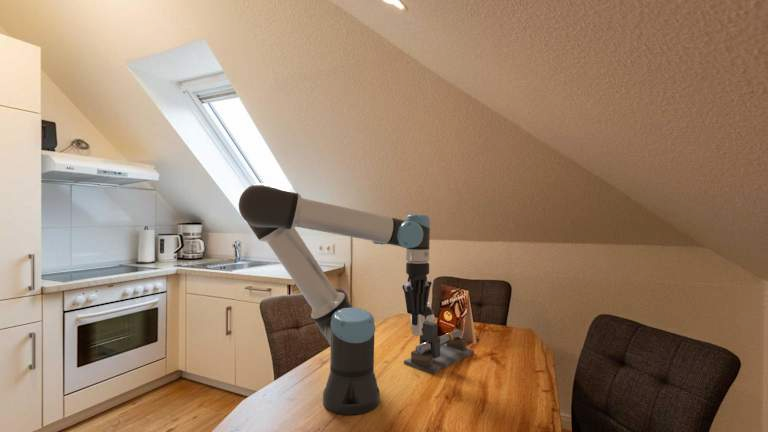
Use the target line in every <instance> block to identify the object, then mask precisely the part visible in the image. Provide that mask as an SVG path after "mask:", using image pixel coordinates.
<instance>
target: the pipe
mask: <svg viewBox="0 0 768 432" xmlns="http://www.w3.org/2000/svg"><path fill="white" fill-rule="evenodd" d="M439 337H440V346H442V345H444V344H447V343H450V342H452V341H454V340H456V339H458V338H462V337H463V332H462V330H460V329H456V330H453V331H451V332H447V333H445V334H443V335H440V336H439ZM415 350H416V352H417V354H419V355H421V354H424V353H426V352H428V351H431V350H432V342H430V341H428V342H425V343H423V344H420V343H419V344H417V345H416V346H415Z"/></svg>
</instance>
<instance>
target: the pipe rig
mask: <svg viewBox="0 0 768 432" xmlns="http://www.w3.org/2000/svg"><path fill="white" fill-rule="evenodd" d="M467 342H468V341H467V339H464V338H462V337H460V338H458V339H456V340H454V341H452V342H450V343H447V344H444V345H442V346H440V357H438V358H436V359H434V358H433V355H430V354H427V353H424V354H421V355H419V354H417V352H416V349H415V350H412V351H411V352H410V357H409V358H407V359H405V360H403V365H406V366H409V367H412V368H414V369H418V370H419V371H423V372H425V373H429V374H431V375H435V374H437V373H439V372H440V371H442V370H444V369H446V368H448V367H450V366H451V365H454V364H456V363H458V362H460V361H462V360H463V359H465V358H467V357H469V356H471V355H473V354H474V352H475V351H474V350H473V349H469V348H468V347H467V346H468V345H467Z"/></svg>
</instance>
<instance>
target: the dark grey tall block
mask: <svg viewBox="0 0 768 432" xmlns="http://www.w3.org/2000/svg"><path fill="white" fill-rule="evenodd" d="M438 325H439V324H438V323H436V322H429V321H427V322H424V323H423V330H422V335H420V336H419V345H420V344H423V343H425V342H428V341H430V342H432V350H431V351H428V352H426V353H427V354H430V355H433V358H434V359H436V358H438V357H440V336H438V328H439V327H438Z"/></svg>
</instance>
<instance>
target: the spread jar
mask: <svg viewBox="0 0 768 432" xmlns="http://www.w3.org/2000/svg"><path fill="white" fill-rule="evenodd" d="M424 312H425V315H423V314H422V331H423V323H424V322H427V321H429V322H433V323H435V319H436V318H435V315H434V312H433V309H432V308H431V307H430V301H428V304H427V310H426V311H424ZM410 325H411V326H412V315H411V314H410Z"/></svg>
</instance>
